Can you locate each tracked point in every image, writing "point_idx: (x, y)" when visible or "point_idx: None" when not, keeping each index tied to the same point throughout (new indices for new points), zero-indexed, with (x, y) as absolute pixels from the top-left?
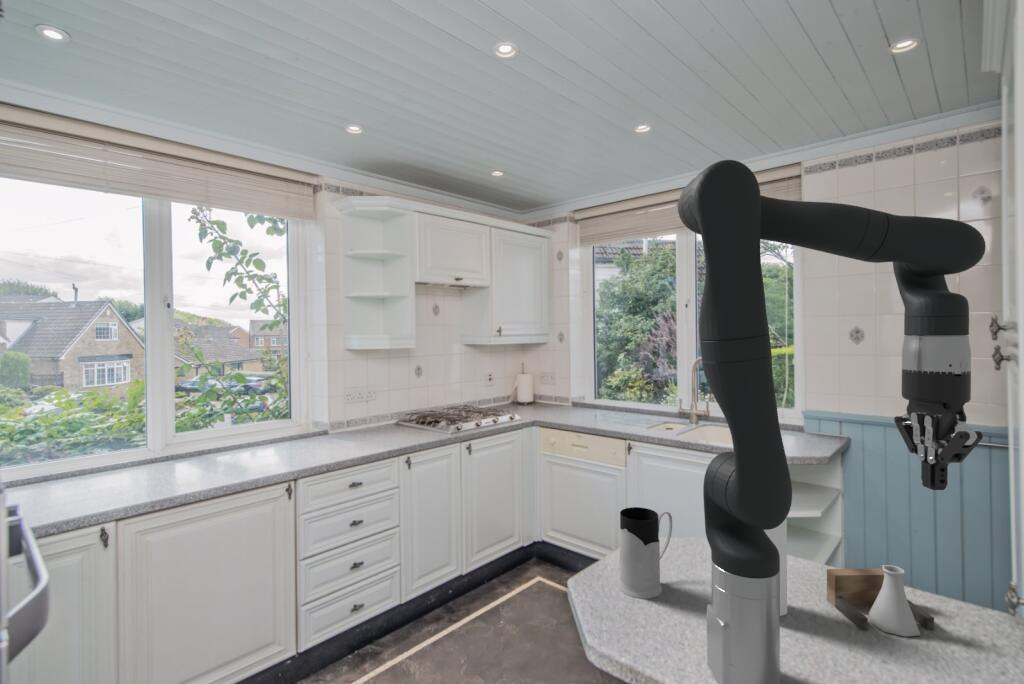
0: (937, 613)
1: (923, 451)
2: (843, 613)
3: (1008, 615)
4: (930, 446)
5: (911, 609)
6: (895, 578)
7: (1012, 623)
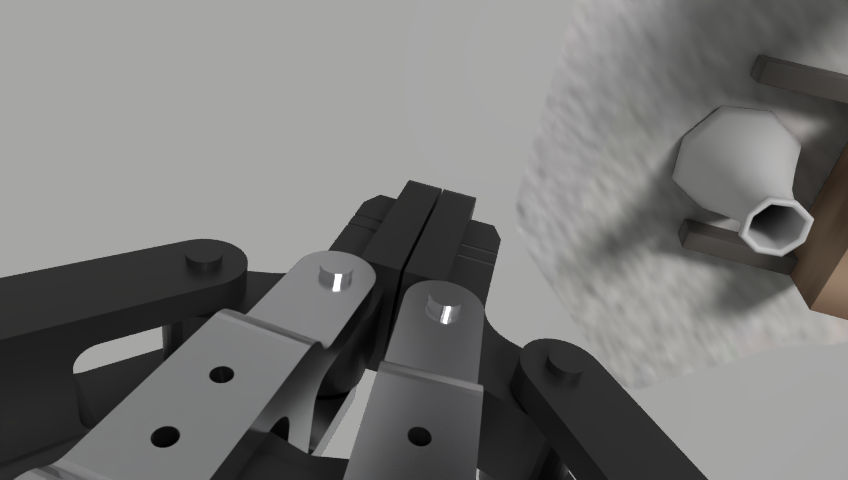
0: (720, 304)
1: (403, 329)
2: (840, 73)
3: None
4: (242, 314)
5: (740, 242)
6: (752, 204)
7: None
